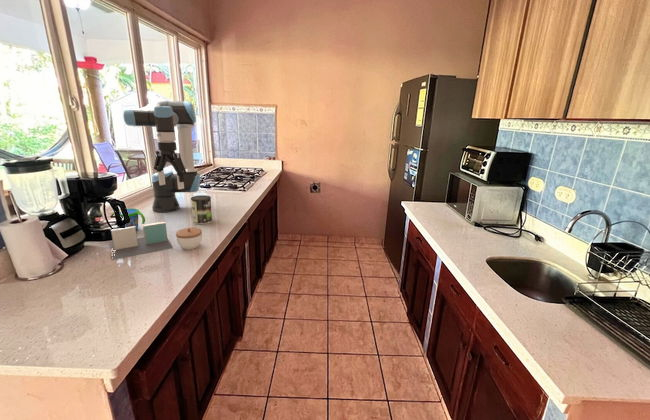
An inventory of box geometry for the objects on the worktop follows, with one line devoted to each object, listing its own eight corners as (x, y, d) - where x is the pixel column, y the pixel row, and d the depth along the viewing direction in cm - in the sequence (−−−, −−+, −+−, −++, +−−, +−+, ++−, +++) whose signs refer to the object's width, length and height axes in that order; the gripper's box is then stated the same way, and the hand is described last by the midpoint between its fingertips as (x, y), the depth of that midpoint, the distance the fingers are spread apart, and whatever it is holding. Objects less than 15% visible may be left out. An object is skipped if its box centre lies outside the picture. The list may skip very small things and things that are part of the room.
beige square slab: (145, 243, 140) (142, 224, 137) (167, 239, 145) (164, 221, 142) (146, 244, 138) (143, 226, 136) (167, 240, 143) (165, 222, 141)
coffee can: (216, 219, 176) (214, 196, 172) (205, 225, 166) (204, 200, 162) (200, 217, 178) (198, 194, 174) (189, 223, 168) (186, 198, 164)
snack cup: (107, 233, 150) (103, 213, 147) (120, 226, 160) (117, 207, 157) (138, 234, 150) (135, 215, 147) (150, 227, 160) (148, 208, 157)
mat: (109, 243, 138) (109, 243, 138) (165, 234, 152) (165, 233, 151) (111, 261, 123) (111, 260, 123) (173, 249, 136) (173, 248, 136)
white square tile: (114, 248, 133) (110, 229, 130) (137, 244, 138) (135, 226, 135) (114, 250, 131) (110, 231, 129) (138, 246, 137) (135, 227, 134)
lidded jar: (178, 254, 132) (175, 234, 129) (176, 244, 141) (174, 225, 138) (204, 250, 137) (202, 230, 134) (201, 241, 146) (200, 223, 143)
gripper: (141, 139, 141) (147, 184, 148) (177, 144, 130) (182, 192, 137) (157, 139, 148) (162, 182, 154) (192, 143, 137) (196, 189, 143)
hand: (171, 186), depth 145 cm, fingers open, 13 cm apart
